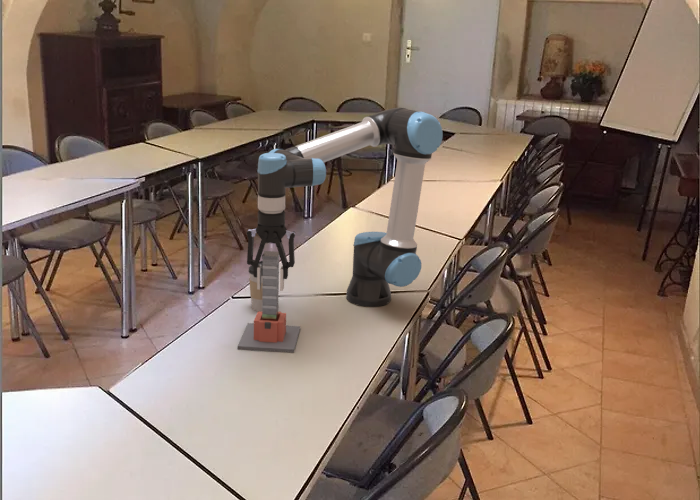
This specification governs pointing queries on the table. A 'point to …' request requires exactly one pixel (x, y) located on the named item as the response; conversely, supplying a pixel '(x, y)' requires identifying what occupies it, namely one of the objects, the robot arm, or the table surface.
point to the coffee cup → (254, 292)
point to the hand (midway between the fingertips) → (270, 288)
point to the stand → (269, 335)
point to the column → (270, 284)
